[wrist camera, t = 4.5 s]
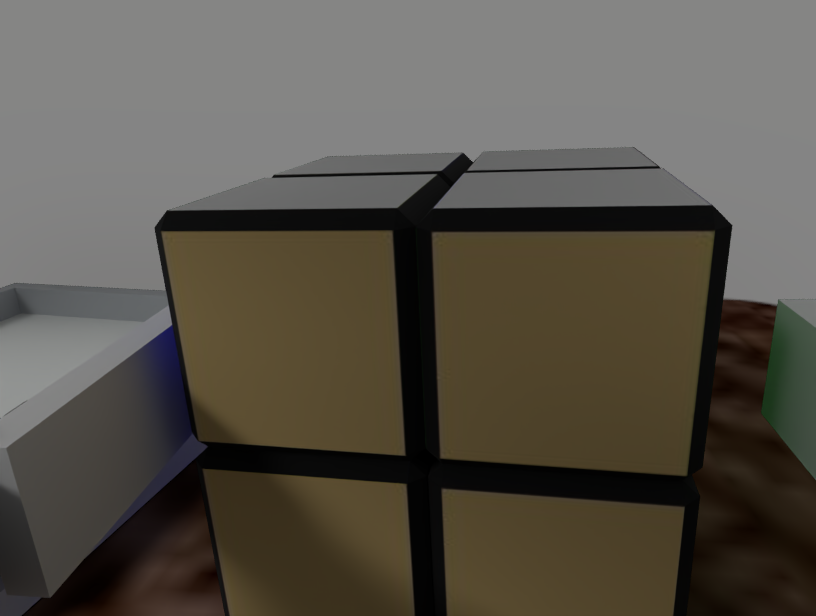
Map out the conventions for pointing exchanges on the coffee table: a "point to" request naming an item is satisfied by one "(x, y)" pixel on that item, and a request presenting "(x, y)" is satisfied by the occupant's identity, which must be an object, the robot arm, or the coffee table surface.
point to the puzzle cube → (450, 382)
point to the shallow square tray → (70, 360)
